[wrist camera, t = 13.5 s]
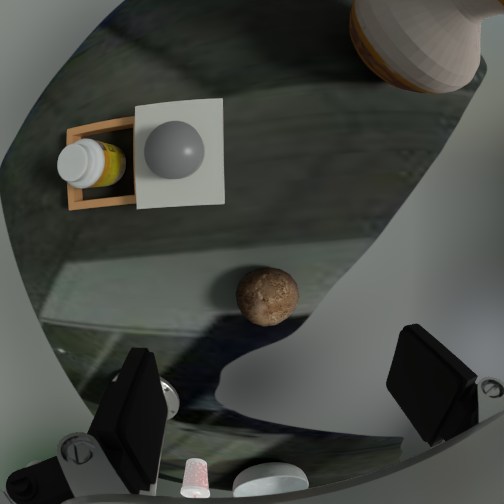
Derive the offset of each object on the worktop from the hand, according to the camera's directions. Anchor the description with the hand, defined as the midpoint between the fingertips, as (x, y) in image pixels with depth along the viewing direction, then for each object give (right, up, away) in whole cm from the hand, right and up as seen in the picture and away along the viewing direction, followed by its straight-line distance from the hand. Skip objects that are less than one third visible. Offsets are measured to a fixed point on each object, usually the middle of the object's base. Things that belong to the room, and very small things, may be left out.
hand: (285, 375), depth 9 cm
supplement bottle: (-20, +16, +24) cm, 35 cm away
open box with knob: (-15, +16, +24) cm, 33 cm away
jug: (+18, +35, +22) cm, 45 cm away
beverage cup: (-14, -43, +39) cm, 60 cm away
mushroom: (+1, 0, +30) cm, 30 cm away
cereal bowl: (+2, -47, +42) cm, 63 cm away
